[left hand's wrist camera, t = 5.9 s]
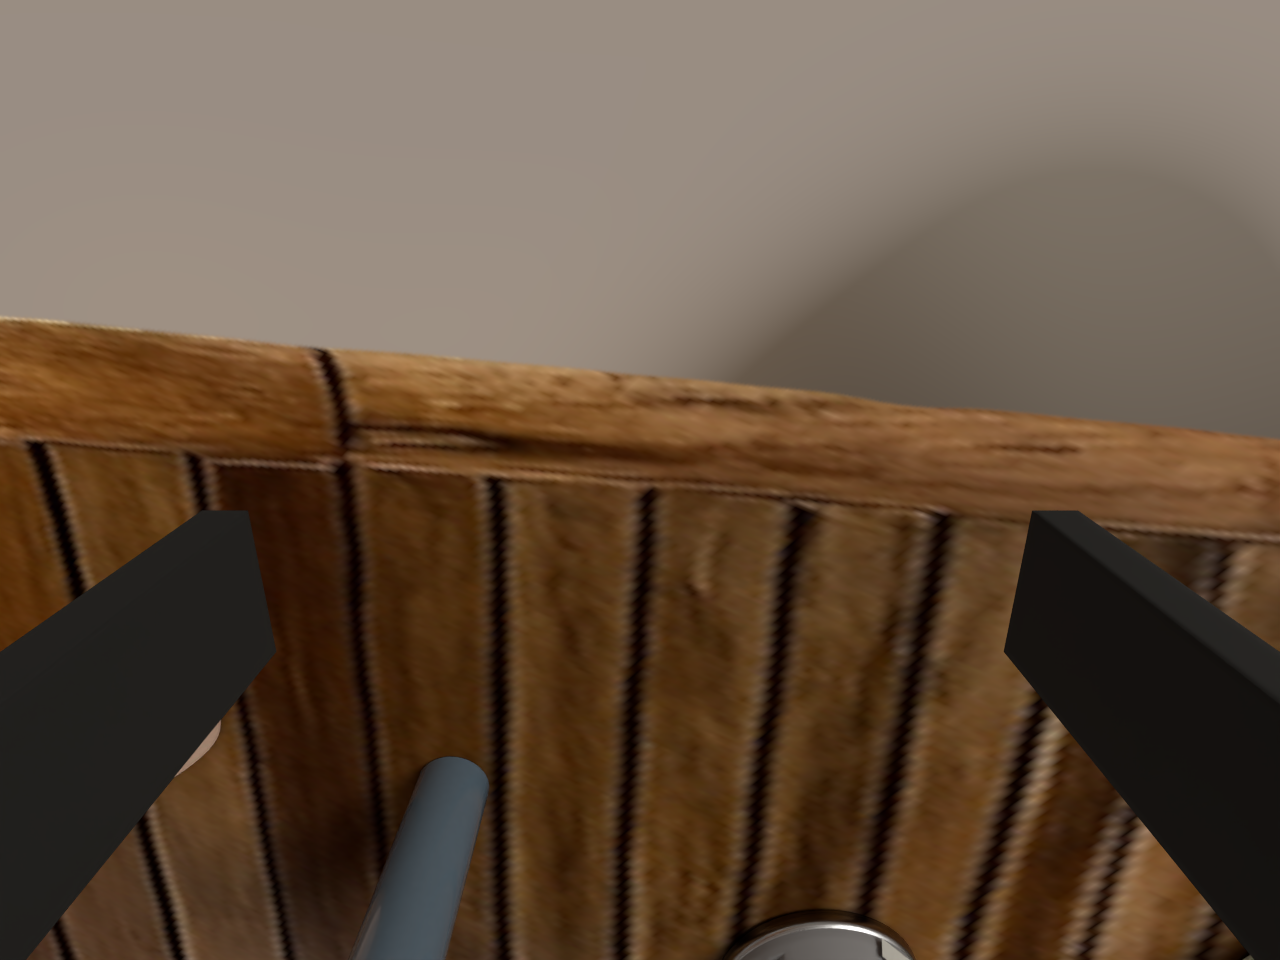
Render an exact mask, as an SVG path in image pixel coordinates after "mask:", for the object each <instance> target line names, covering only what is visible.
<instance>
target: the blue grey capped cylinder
mask: <svg viewBox="0 0 1280 960" xmlns="http://www.w3.org/2000/svg"><path fill="white" fill-rule="evenodd" d="M488 793H489V782H488V779H487V777H486V775H485V773H484V772H483V770H482V769H481V768H480V767H479V766H477V765H476V764H474V763H473V762H471V761H469V760H467V759H464V758H460V757H442V758H438V759H435V760H433V761H431V762H430V763H428V764H427V765H426V766H425V767H424V768H423V769H422V771H421V772H420V775H419V777H418V780H417V782H416V785H415V788H414V790H413V793H412V795H411V798H410V800H409V803H408V806H407V808H406V811H405V813H404V816H403V819H402V821H401V824H400V826H399V829H398V832H397V834H396V837H395V839H394V842H393V844H392V847H391V850H390V852H389V855H388V857H387V860H386V863H385V865H384V868H383V870H382V873H381V876H380V878H379V881H378V883H377V886H376V888H375V891H374V894H373V896H372V899H371V901H370V904H369V907H368V909H367V912H366V914H365V917H364V920H363V922H362V925H361V927H360V930H359V932H358V935H357V938H356V940H355V943H354V945H353V948H352V951H351V953H350V956H349V958H348V960H446V956H447V952H448V948H449V944H450V940H451V936H452V932H453V929H454V925H455V921H456V917H457V913H458V909H459V905H460V901H461V897H462V894H463V890H464V886H465V882H466V878H467V874H468V870H469V866H470V863H471V859H472V855H473V851H474V847H475V843H476V839H477V835H478V831H479V828H480V824H481V820H482V816H483V812H484V808H485V804H486V800H487V796H488Z"/></svg>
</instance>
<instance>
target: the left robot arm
mask: <svg viewBox="0 0 1280 960" xmlns="http://www.w3.org/2000/svg"><path fill="white" fill-rule="evenodd" d="M275 652H276V648H275V643H274V638H273V633H272V628H271V623H270V618H269V613H268V608H267V604H266V599H265V594H264V589H263V584H262V579H261V574H260V569H259V564H258V559H257V554H256V549H255V544H254V539H253V534H252V529H251V524H250V519H249V514H248V511H201V512H199V513H198V514H197V515H195V516H194V517H192V518H191V519H189V520H188V521H187V522H185V523H184V524H182V525H181V526H179V527H178V528H177V529H175V530H174V531H172V532H171V533H169V534H168V535H167V536H165V537H164V538H162V539H161V540H159V541H158V542H157V543H155V544H154V545H152V546H151V547H149V548H148V549H147V550H145V551H144V552H142V553H141V554H139V555H138V556H137V557H135V558H134V559H132V560H131V561H129V562H128V563H127V564H125V565H124V566H122V567H121V568H119V569H118V570H117V571H115V572H114V573H112V574H111V575H109V576H108V577H107V578H105V579H104V580H102V581H101V582H99V583H98V584H97V585H95V586H94V587H92V588H91V589H90V590H88V591H87V592H85V593H84V594H82V595H81V596H80V597H78V598H77V599H75V600H74V601H72V602H71V603H70V604H68V605H67V606H65V607H64V608H62V609H61V610H60V611H58V612H57V613H55V614H54V615H52V616H51V617H50V618H48V619H47V620H45V621H44V622H42V623H41V624H40V625H38V626H37V627H35V628H34V629H32V630H31V631H30V632H28V633H27V634H25V635H24V636H22V637H21V638H20V639H18V640H17V641H15V642H14V643H12V644H11V645H10V646H8V647H7V648H5V649H4V650H2V651H1V652H0V960H26V959H27V958H28V957H29V955H30V954H31V953H32V952H33V950H34V949H35V948H36V947H37V945H38V944H39V943H40V942H41V941H42V939H43V938H44V937H45V936H46V934H47V933H48V932H49V931H50V929H51V928H52V927H53V926H54V925H55V923H56V922H57V921H58V920H59V918H60V917H61V916H62V915H63V913H64V912H65V911H66V910H67V909H68V907H69V906H70V905H71V904H72V902H73V901H74V900H75V899H76V897H77V896H78V895H79V894H80V893H81V891H82V890H83V889H84V888H85V886H86V885H87V884H88V883H89V881H90V880H91V879H92V878H93V877H94V875H95V874H96V873H97V872H98V870H99V869H100V868H101V867H102V865H103V864H104V863H105V862H106V861H107V859H108V858H109V857H110V856H111V854H112V853H113V852H114V851H115V849H116V848H117V847H118V846H119V845H120V843H121V842H122V841H123V840H124V838H125V837H126V836H127V835H128V833H129V832H130V831H131V830H132V829H133V827H134V826H135V825H136V824H137V822H138V821H139V820H140V819H141V817H142V816H143V815H144V814H145V813H146V811H147V810H148V809H149V808H150V806H151V805H152V804H153V803H154V801H155V800H156V799H157V798H158V797H159V795H160V794H161V793H162V792H163V790H164V789H165V788H166V787H167V785H168V784H169V783H170V782H171V781H172V779H173V778H174V777H175V776H176V774H177V773H178V772H179V771H180V769H181V768H182V767H183V766H184V764H185V763H186V762H187V761H188V760H189V758H190V757H191V756H192V755H193V753H194V752H195V751H196V750H197V748H198V747H199V746H200V745H201V744H202V742H203V741H204V740H205V739H206V737H207V736H208V735H209V734H210V732H211V731H212V730H213V729H214V728H215V726H216V725H217V724H218V723H219V721H220V720H221V719H222V718H223V716H224V715H225V714H226V713H227V712H228V710H229V709H230V708H231V707H232V705H233V704H234V703H235V702H236V700H237V699H238V698H239V697H240V696H241V694H242V693H243V692H244V691H245V689H246V688H247V687H248V686H249V684H250V683H251V682H252V681H253V680H254V678H255V677H256V676H257V675H258V673H259V672H260V671H261V670H262V668H263V667H264V666H265V665H266V664H267V662H268V661H269V660H270V659H271V657H272V656H273V655H274V654H275ZM1004 652H1005V654H1006V655H1007V656H1008V657H1009V659H1010V660H1011V661H1012V662H1013V664H1014V665H1015V666H1016V667H1017V668H1018V670H1019V671H1020V672H1021V673H1022V675H1023V676H1024V677H1025V678H1026V680H1027V681H1028V682H1029V683H1030V684H1031V686H1032V687H1033V688H1034V689H1035V691H1036V692H1037V693H1038V694H1039V696H1040V697H1041V698H1042V699H1043V700H1044V702H1045V703H1046V704H1047V705H1048V707H1049V708H1050V709H1051V710H1052V712H1053V713H1054V714H1055V715H1056V716H1057V718H1058V719H1059V720H1060V721H1061V723H1062V724H1063V725H1064V726H1065V728H1066V729H1067V730H1068V731H1069V732H1070V734H1071V735H1072V736H1073V737H1074V739H1075V740H1076V741H1077V742H1078V744H1079V745H1080V746H1081V747H1082V748H1083V750H1084V751H1085V752H1086V753H1087V755H1088V756H1089V757H1090V758H1091V760H1092V761H1093V762H1094V763H1095V765H1096V766H1097V767H1098V768H1099V769H1100V771H1101V772H1102V773H1103V774H1104V776H1105V777H1106V778H1107V779H1108V781H1109V782H1110V783H1111V784H1112V785H1113V787H1114V788H1115V789H1116V790H1117V792H1118V793H1119V794H1120V795H1121V797H1122V798H1123V799H1124V800H1125V801H1126V803H1127V804H1128V805H1129V806H1130V808H1131V809H1132V810H1133V811H1134V813H1135V814H1136V815H1137V816H1138V817H1139V819H1140V820H1141V821H1142V822H1143V824H1144V825H1145V826H1146V827H1147V829H1148V830H1149V831H1150V832H1151V833H1152V835H1153V836H1154V837H1155V838H1156V840H1157V841H1158V842H1159V843H1160V845H1161V846H1162V847H1163V848H1164V849H1165V851H1166V852H1167V853H1168V854H1169V856H1170V857H1171V858H1172V859H1173V861H1174V862H1175V863H1176V864H1177V865H1178V867H1179V868H1180V869H1181V870H1182V872H1183V873H1184V874H1185V875H1186V877H1187V878H1188V879H1189V880H1190V881H1191V883H1192V884H1193V885H1194V886H1195V888H1196V889H1197V890H1198V891H1199V893H1200V894H1201V895H1202V896H1203V897H1204V899H1205V900H1206V901H1207V902H1208V904H1209V905H1210V906H1211V907H1212V909H1213V910H1214V911H1215V912H1216V913H1217V915H1218V916H1219V917H1220V918H1221V920H1222V921H1223V922H1224V923H1225V925H1226V926H1227V927H1228V928H1229V929H1230V931H1231V932H1232V933H1233V934H1234V936H1235V937H1236V938H1237V939H1238V941H1239V942H1240V943H1241V944H1242V945H1243V947H1244V948H1245V949H1246V950H1247V952H1248V953H1249V954H1250V955H1251V957H1252V958H1253V959H1254V960H1280V652H1279V651H1278V650H1276V649H1275V648H1273V647H1272V646H1270V645H1269V644H1268V643H1266V642H1265V641H1263V640H1262V639H1260V638H1259V637H1258V636H1256V635H1255V634H1253V633H1252V632H1250V631H1249V630H1248V629H1246V628H1245V627H1243V626H1242V625H1240V624H1239V623H1238V622H1236V621H1235V620H1233V619H1232V618H1230V617H1229V616H1228V615H1226V614H1225V613H1223V612H1222V611H1220V610H1219V609H1218V608H1216V607H1215V606H1213V605H1212V604H1210V603H1209V602H1208V601H1206V600H1205V599H1203V598H1202V597H1200V596H1199V595H1198V594H1196V593H1195V592H1193V591H1192V590H1190V589H1189V588H1188V587H1186V586H1185V585H1183V584H1182V583H1181V582H1179V581H1178V580H1176V579H1175V578H1173V577H1172V576H1171V575H1169V574H1168V573H1166V572H1165V571H1163V570H1162V569H1161V568H1159V567H1158V566H1156V565H1155V564H1153V563H1152V562H1151V561H1149V560H1148V559H1146V558H1145V557H1143V556H1142V555H1141V554H1139V553H1138V552H1136V551H1135V550H1133V549H1132V548H1131V547H1129V546H1128V545H1126V544H1125V543H1123V542H1122V541H1121V540H1119V539H1118V538H1116V537H1115V536H1113V535H1112V534H1111V533H1109V532H1108V531H1106V530H1105V529H1103V528H1102V527H1101V526H1099V525H1098V524H1096V523H1095V522H1093V521H1092V520H1091V519H1089V518H1088V517H1086V516H1085V515H1083V514H1082V513H1081V512H1079V511H1032V514H1031V519H1030V524H1029V529H1028V534H1027V539H1026V544H1025V549H1024V554H1023V559H1022V564H1021V569H1020V574H1019V579H1018V584H1017V589H1016V594H1015V599H1014V604H1013V608H1012V613H1011V618H1010V623H1009V628H1008V633H1007V638H1006V643H1005V648H1004ZM723 960H916V959H915V957H914V955H913V952H912V950H911V949H910V947H909V946H908V944H907V943H906V942H905V941H904V939H903V938H902V937H901V936H900V935H898V934H897V933H896V932H895V931H894V930H892V929H891V928H890V927H888V926H886V925H884V924H883V923H881V922H879V921H877V920H874V919H872V918H869V917H866V916H863V915H860V914H856V913H851V912H845V911H836V910H814V911H805V912H799V913H794V914H790V915H786V916H782V917H779V918H776V919H774V920H771V921H769V922H766V923H764V924H762V925H760V926H758V927H757V928H755V929H753V930H752V931H750V932H749V933H747V934H746V935H745V936H743V937H742V938H741V939H740V940H739V941H737V942H736V943H735V944H734V945H733V947H732V948H731V949H730V950H729V951H728V953H727V954H726V955H725V957H724V959H723Z"/></svg>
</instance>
